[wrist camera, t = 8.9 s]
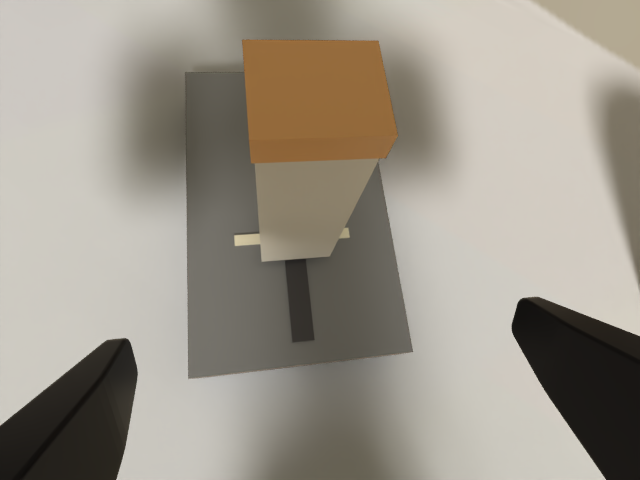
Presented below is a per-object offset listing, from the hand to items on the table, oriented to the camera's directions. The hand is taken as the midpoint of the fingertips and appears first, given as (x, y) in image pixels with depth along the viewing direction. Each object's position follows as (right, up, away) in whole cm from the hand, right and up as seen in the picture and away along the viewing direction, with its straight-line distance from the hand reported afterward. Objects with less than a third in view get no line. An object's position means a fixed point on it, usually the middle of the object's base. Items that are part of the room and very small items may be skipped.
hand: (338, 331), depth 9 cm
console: (-2, +3, +13) cm, 14 cm away
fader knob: (-2, +2, +10) cm, 10 cm away
